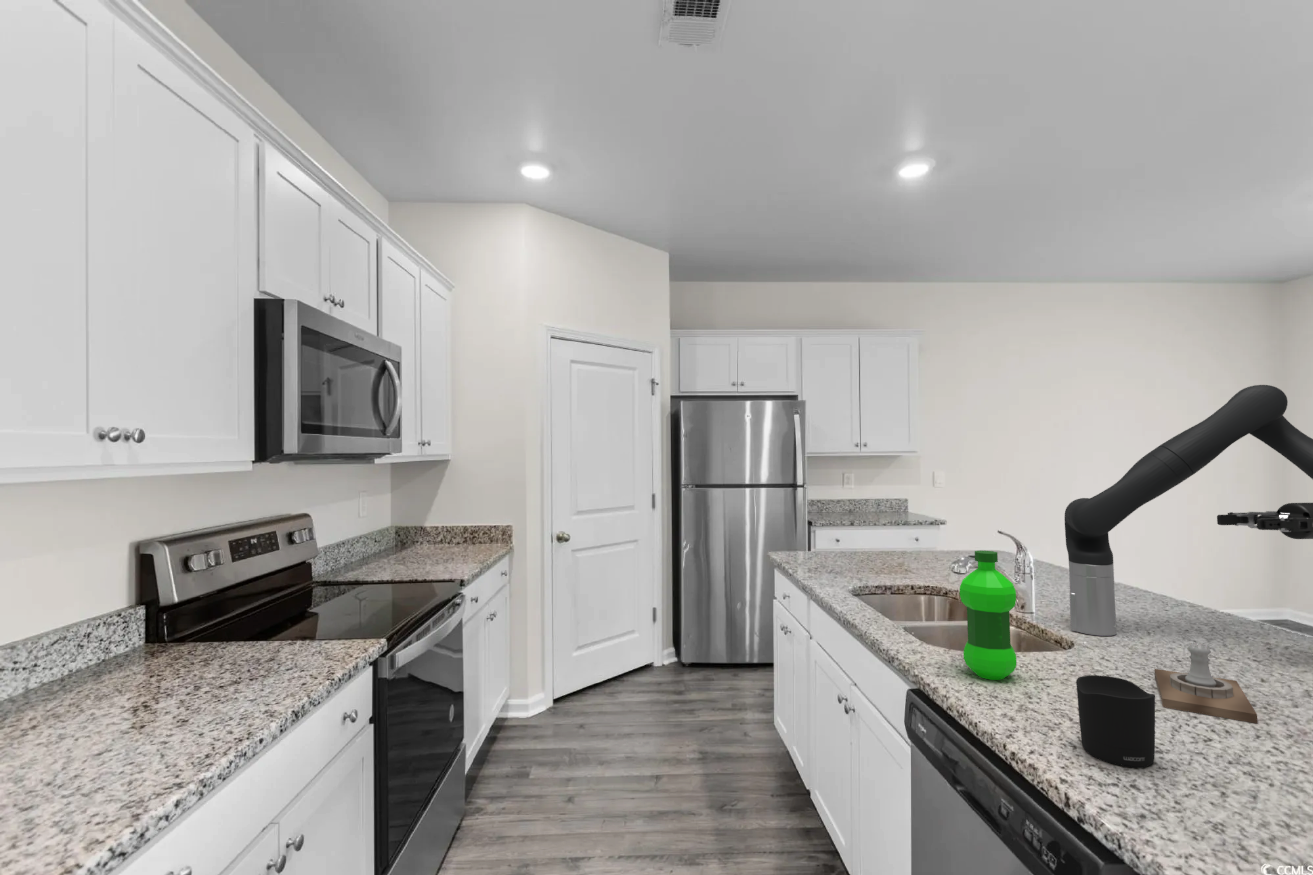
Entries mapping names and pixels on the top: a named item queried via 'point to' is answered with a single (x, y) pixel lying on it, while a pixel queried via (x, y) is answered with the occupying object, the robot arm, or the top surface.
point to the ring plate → (1204, 697)
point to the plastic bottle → (988, 619)
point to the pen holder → (1116, 720)
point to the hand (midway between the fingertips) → (1238, 522)
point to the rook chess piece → (1200, 666)
